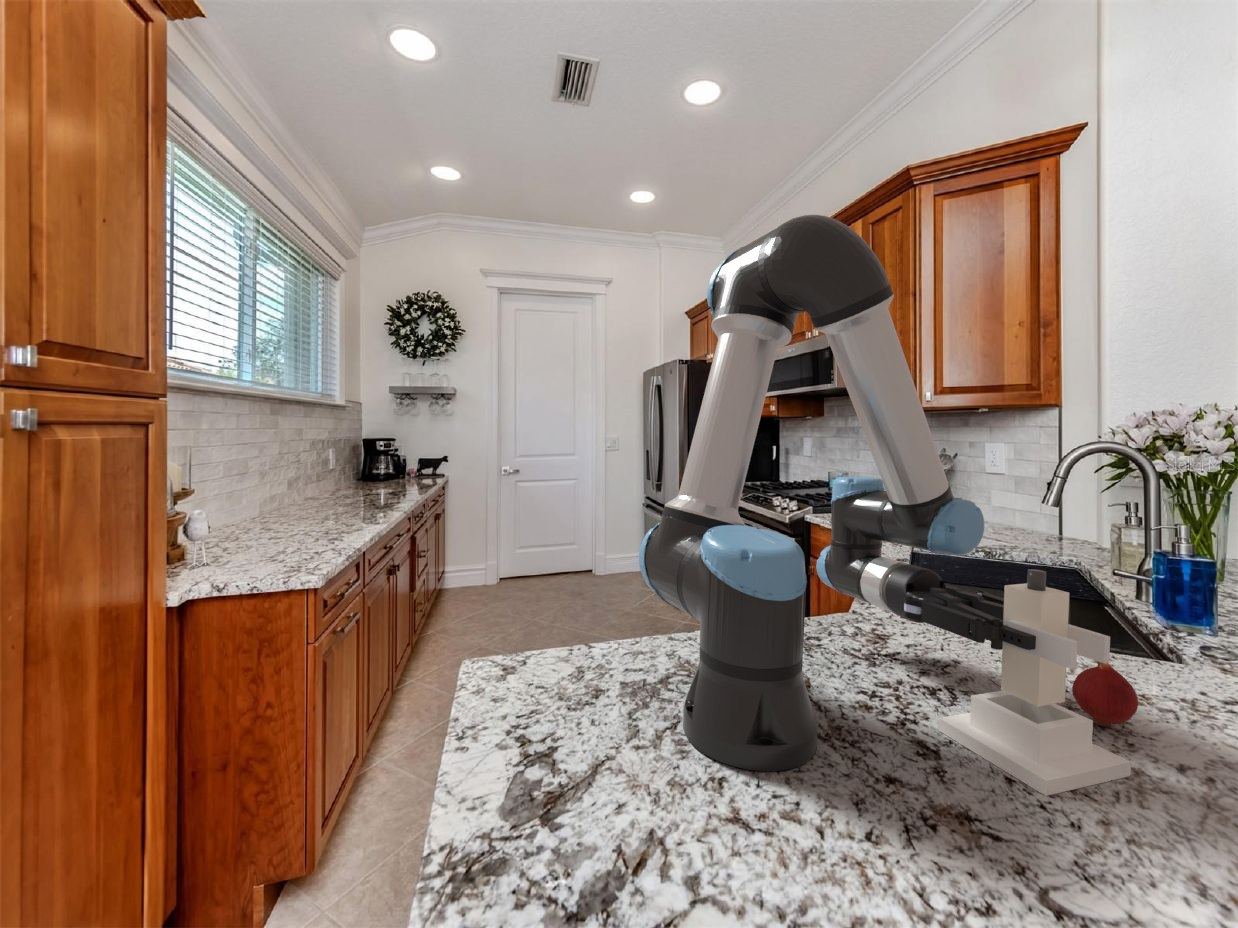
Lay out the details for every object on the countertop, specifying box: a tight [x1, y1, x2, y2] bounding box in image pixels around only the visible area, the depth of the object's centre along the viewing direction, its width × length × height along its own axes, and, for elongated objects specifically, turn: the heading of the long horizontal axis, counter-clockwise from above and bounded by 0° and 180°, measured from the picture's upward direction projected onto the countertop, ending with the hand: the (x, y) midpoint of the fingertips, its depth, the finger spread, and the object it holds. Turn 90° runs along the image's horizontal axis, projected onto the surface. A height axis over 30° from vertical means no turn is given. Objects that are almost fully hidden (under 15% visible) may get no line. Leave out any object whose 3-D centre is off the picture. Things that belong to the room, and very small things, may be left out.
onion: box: [1071, 661, 1139, 727], centre depth 63 cm, size 6×6×8 cm
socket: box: [937, 690, 1132, 797], centre depth 57 cm, size 12×12×5 cm
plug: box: [1000, 568, 1070, 707], centre depth 57 cm, size 4×4×14 cm
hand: (1090, 652), depth 52 cm, fingers closed on plug, 4 cm apart
